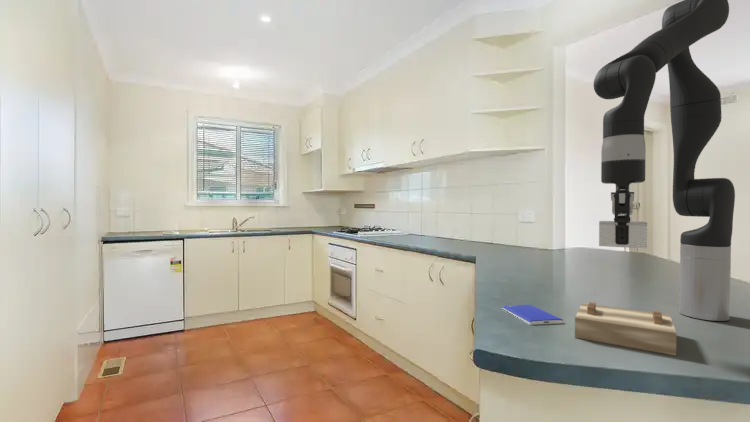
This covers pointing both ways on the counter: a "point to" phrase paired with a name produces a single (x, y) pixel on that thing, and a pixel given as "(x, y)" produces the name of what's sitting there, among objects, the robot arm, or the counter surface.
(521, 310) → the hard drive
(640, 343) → the drive stand
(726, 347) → the counter surface
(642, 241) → the panel
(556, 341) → the counter surface
